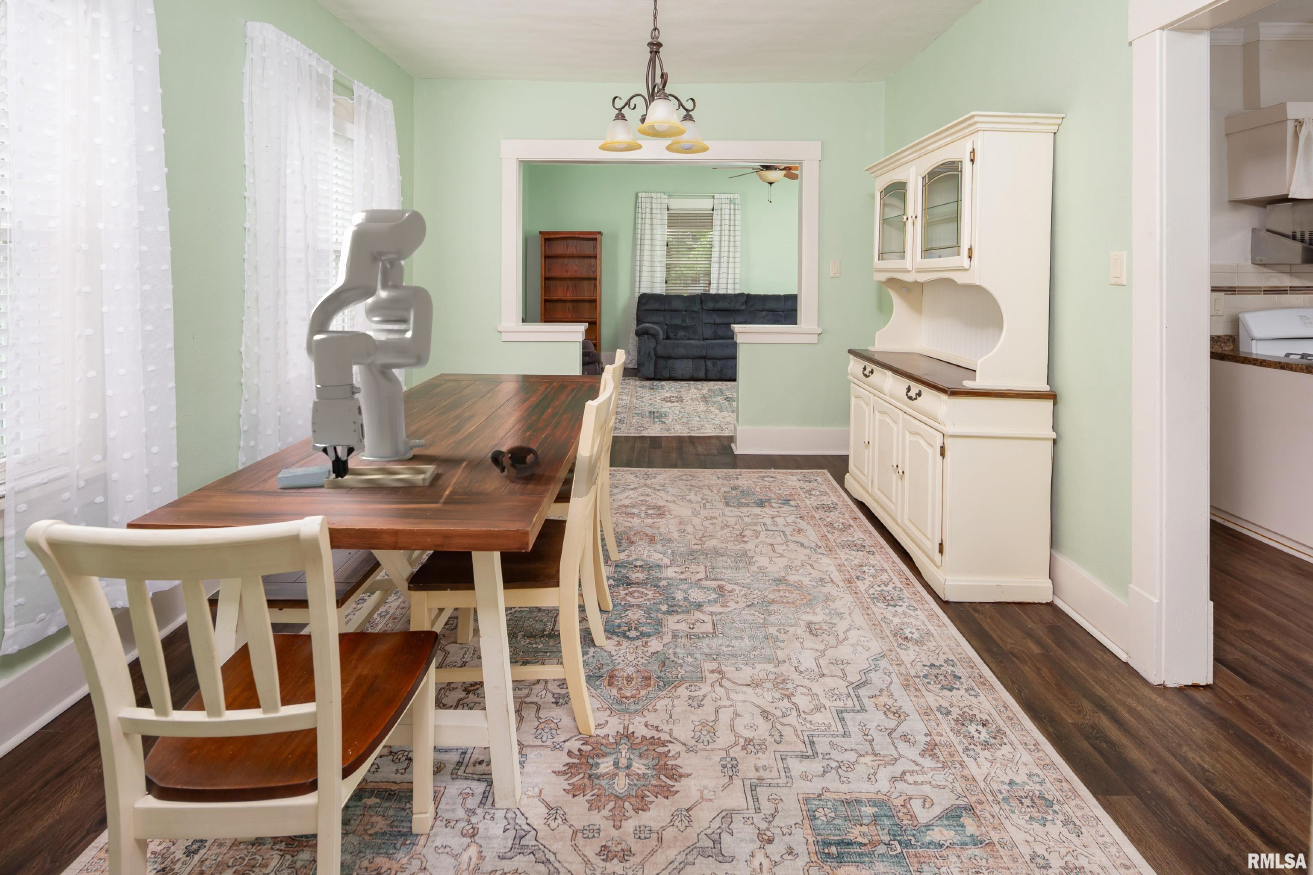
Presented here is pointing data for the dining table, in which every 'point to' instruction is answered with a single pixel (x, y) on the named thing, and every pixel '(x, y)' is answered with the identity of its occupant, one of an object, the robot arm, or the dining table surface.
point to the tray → (384, 477)
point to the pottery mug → (516, 461)
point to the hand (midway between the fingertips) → (340, 476)
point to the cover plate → (304, 476)
